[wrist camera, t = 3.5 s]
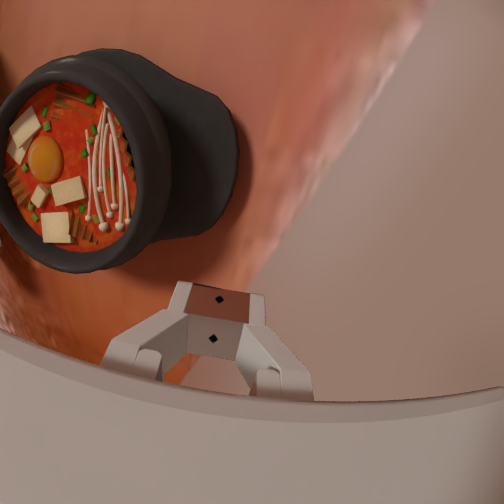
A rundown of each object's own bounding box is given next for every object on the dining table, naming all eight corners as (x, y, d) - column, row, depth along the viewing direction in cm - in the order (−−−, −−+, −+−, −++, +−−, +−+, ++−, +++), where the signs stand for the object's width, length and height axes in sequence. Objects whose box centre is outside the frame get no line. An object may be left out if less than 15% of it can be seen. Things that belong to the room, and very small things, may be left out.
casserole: (260, 58, 19) (260, 41, 12) (223, 262, 29) (212, 324, 22) (14, 64, 18) (-45, 72, 11) (19, 224, 27) (-25, 262, 20)
